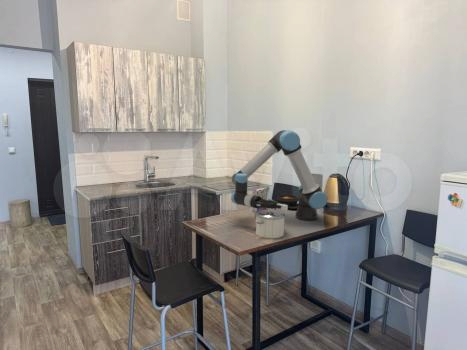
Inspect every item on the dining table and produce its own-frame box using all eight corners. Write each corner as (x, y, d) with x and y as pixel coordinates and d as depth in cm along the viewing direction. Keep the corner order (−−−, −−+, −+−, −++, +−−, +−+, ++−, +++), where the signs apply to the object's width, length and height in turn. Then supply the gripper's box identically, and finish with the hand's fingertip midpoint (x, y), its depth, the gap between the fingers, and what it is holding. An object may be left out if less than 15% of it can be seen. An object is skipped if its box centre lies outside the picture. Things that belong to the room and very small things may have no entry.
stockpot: (245, 234, 195) (245, 216, 194) (268, 226, 213) (268, 209, 211) (269, 241, 184) (270, 222, 183) (292, 231, 202) (292, 214, 200)
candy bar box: (261, 208, 257) (261, 187, 254) (266, 209, 253) (267, 188, 251) (252, 211, 248) (252, 189, 246) (257, 212, 245) (257, 190, 243)
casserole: (307, 208, 258) (308, 198, 257) (290, 212, 247) (290, 201, 246) (284, 202, 278) (285, 192, 277) (267, 205, 268) (268, 195, 266)
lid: (248, 215, 196) (248, 212, 196) (266, 209, 209) (266, 207, 209) (274, 221, 185) (274, 219, 184) (290, 215, 197) (290, 212, 197)
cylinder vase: (322, 204, 270) (323, 174, 267) (320, 208, 259) (321, 176, 255) (306, 203, 275) (307, 173, 271) (303, 206, 263) (305, 175, 260)
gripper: (259, 205, 209) (292, 212, 194) (246, 209, 199) (280, 216, 184) (260, 193, 208) (293, 199, 193) (246, 196, 198) (280, 203, 183)
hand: (286, 207), depth 188 cm, fingers closed
